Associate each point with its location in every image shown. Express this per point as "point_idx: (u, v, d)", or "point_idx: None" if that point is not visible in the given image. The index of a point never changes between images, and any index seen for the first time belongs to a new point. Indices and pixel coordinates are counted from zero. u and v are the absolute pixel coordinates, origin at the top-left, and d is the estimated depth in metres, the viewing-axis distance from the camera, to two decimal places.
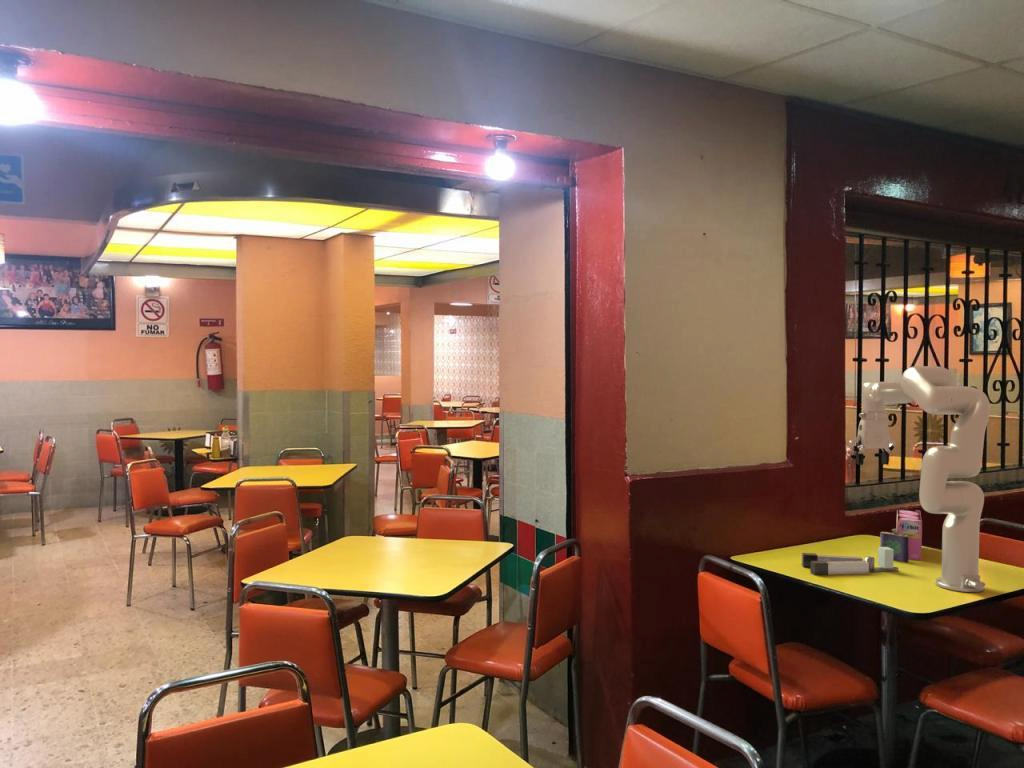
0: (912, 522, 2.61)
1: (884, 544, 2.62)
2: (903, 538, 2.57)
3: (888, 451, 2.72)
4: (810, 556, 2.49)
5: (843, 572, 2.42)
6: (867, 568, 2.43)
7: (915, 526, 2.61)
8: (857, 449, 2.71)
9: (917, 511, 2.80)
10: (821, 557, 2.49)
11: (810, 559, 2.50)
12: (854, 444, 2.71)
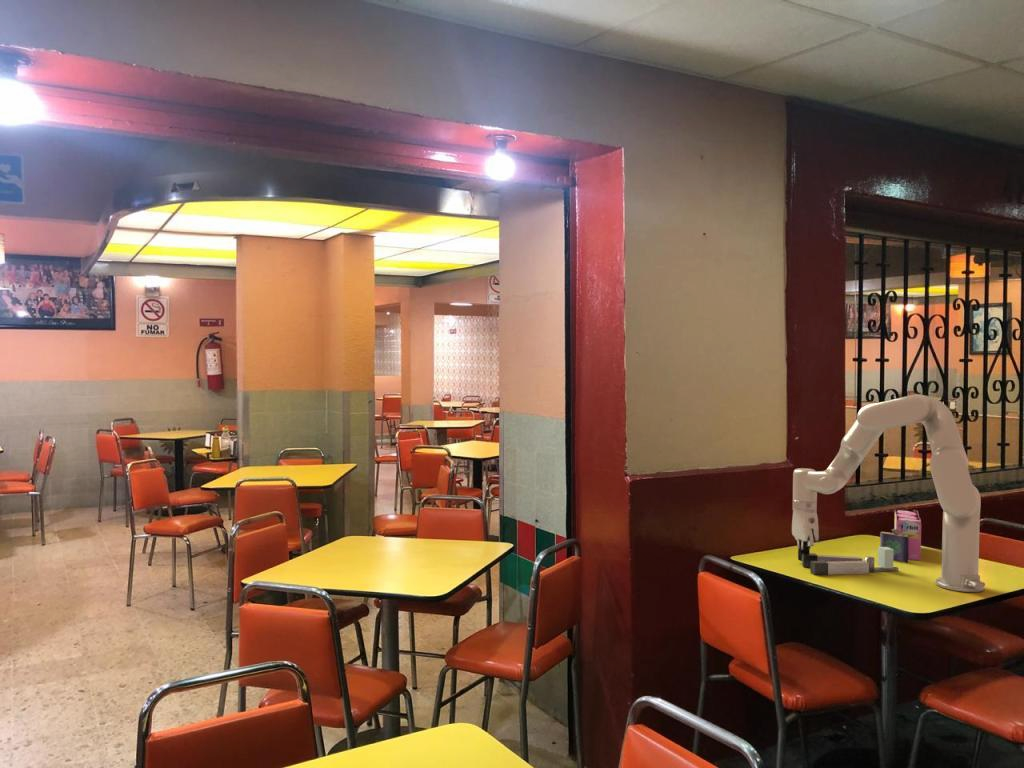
0: (911, 522, 2.61)
1: (884, 544, 2.62)
2: (903, 538, 2.57)
3: None
4: (810, 556, 2.49)
5: (843, 572, 2.42)
6: (867, 568, 2.43)
7: (914, 526, 2.60)
8: None
9: (914, 511, 2.80)
10: (821, 557, 2.49)
11: (810, 559, 2.49)
12: None
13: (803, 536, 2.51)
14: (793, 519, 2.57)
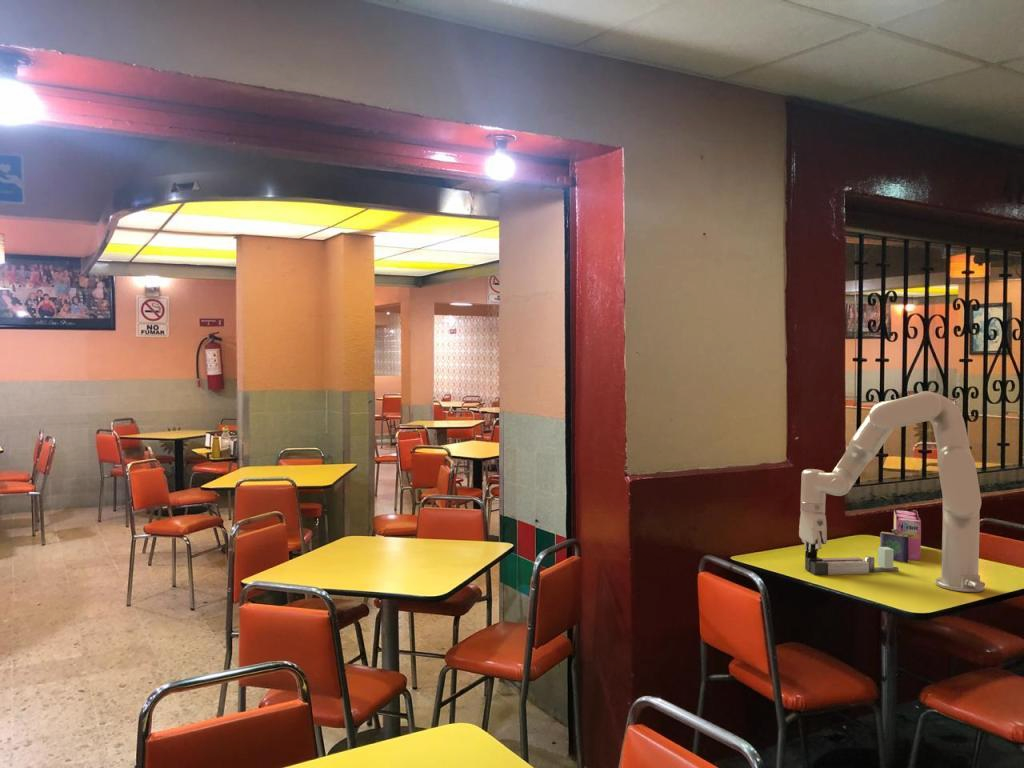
0: (911, 522, 2.61)
1: (884, 544, 2.62)
2: (903, 538, 2.57)
3: None
4: (816, 560, 2.44)
5: (843, 572, 2.42)
6: (867, 568, 2.43)
7: (914, 526, 2.60)
8: None
9: (914, 511, 2.80)
10: (826, 561, 2.44)
11: None
12: None
13: (811, 539, 2.45)
14: (801, 521, 2.51)
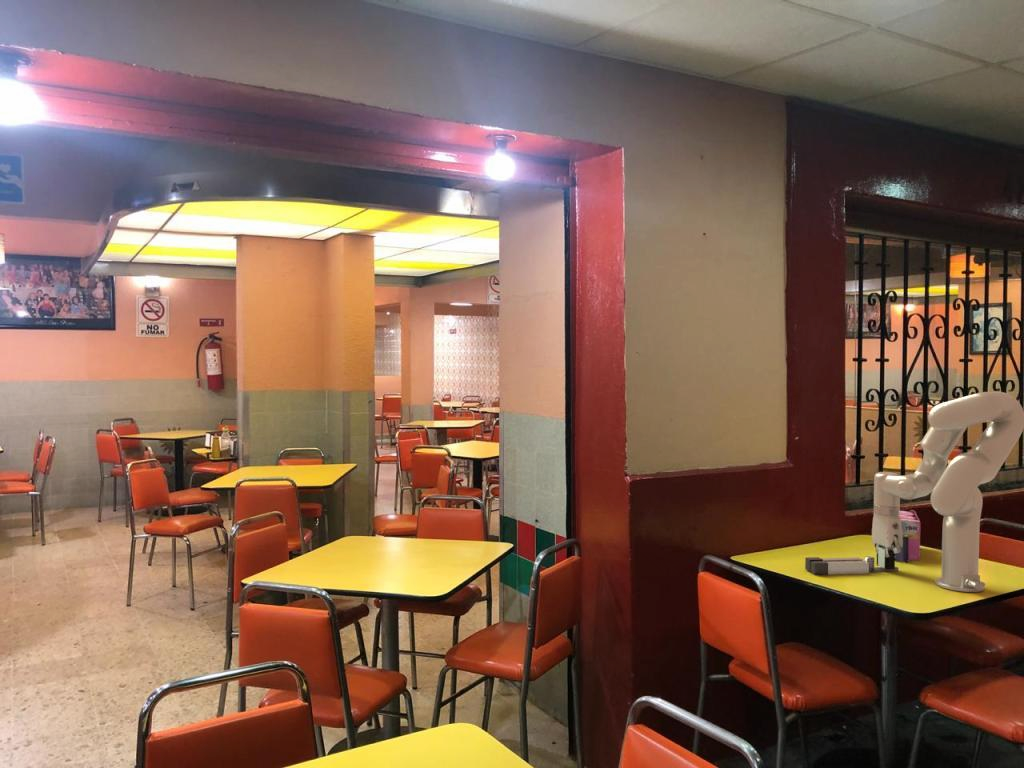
0: (911, 522, 2.60)
1: None
2: (903, 538, 2.57)
3: None
4: (816, 560, 2.44)
5: (843, 572, 2.42)
6: (867, 568, 2.43)
7: (914, 526, 2.60)
8: None
9: (911, 511, 2.80)
10: (826, 561, 2.44)
11: None
12: None
13: (886, 542, 2.42)
14: (874, 524, 2.49)
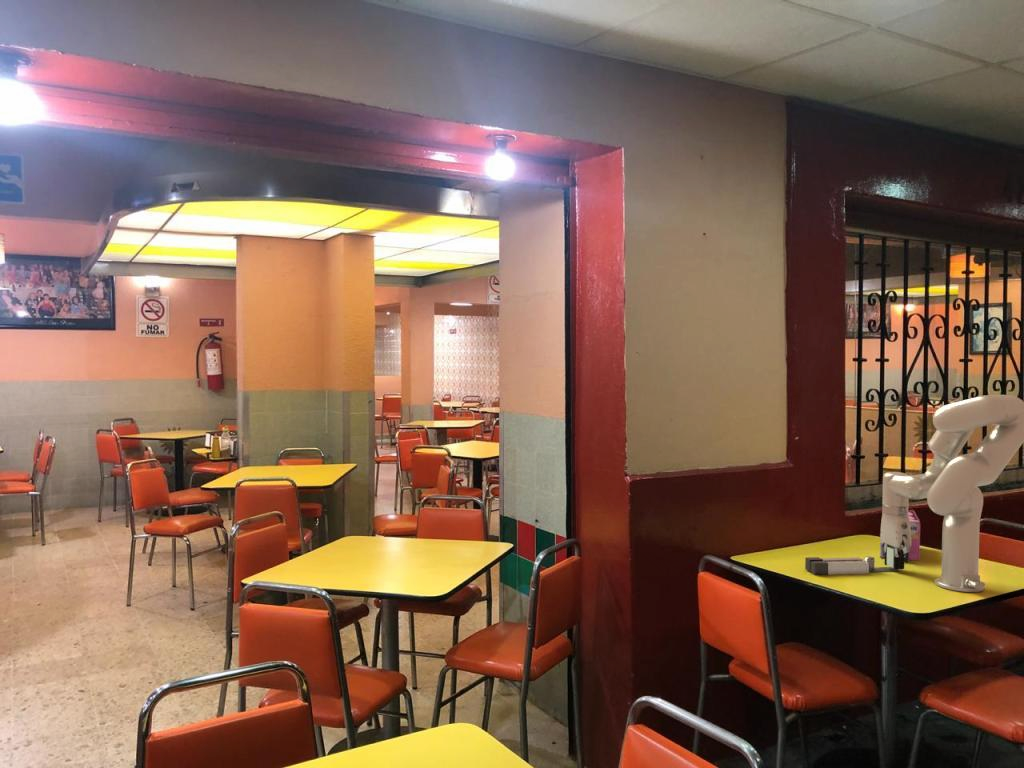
0: (910, 523, 2.60)
1: None
2: None
3: None
4: (816, 560, 2.44)
5: (843, 572, 2.42)
6: (867, 568, 2.43)
7: (913, 526, 2.60)
8: None
9: (911, 511, 2.80)
10: (826, 561, 2.44)
11: None
12: None
13: (895, 542, 2.42)
14: (882, 524, 2.49)
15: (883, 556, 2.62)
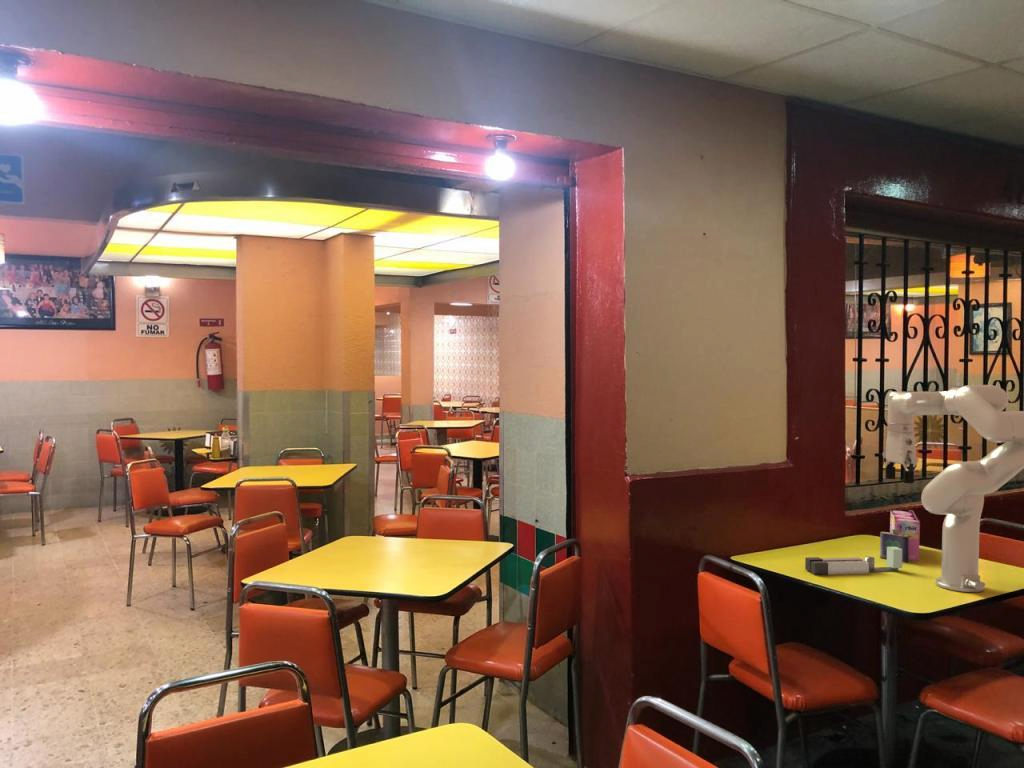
0: (910, 523, 2.60)
1: (884, 544, 2.62)
2: (903, 538, 2.57)
3: None
4: (816, 560, 2.44)
5: (843, 572, 2.42)
6: (867, 568, 2.43)
7: (913, 526, 2.59)
8: None
9: (910, 511, 2.80)
10: (826, 561, 2.44)
11: None
12: None
13: (900, 458, 2.47)
14: (887, 443, 2.54)
15: (883, 556, 2.62)
